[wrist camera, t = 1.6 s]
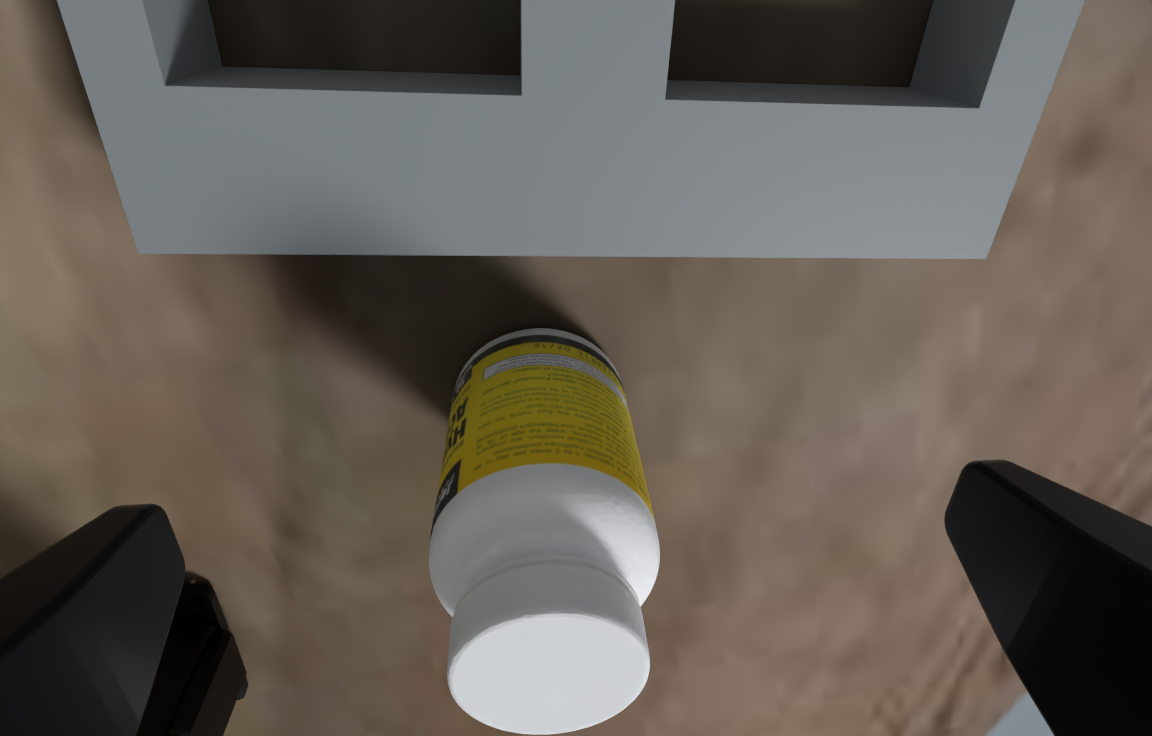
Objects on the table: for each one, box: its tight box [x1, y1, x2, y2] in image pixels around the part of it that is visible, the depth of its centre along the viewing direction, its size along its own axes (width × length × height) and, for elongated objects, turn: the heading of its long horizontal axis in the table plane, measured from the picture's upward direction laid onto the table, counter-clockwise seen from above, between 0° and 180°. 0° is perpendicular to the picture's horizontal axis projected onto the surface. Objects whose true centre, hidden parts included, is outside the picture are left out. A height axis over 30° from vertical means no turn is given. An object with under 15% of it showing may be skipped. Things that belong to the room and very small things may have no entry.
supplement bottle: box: [429, 328, 660, 735], centre depth 17 cm, size 5×5×10 cm
